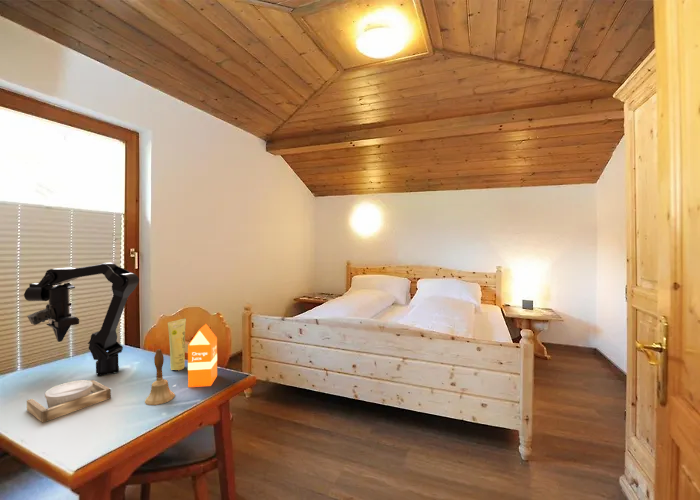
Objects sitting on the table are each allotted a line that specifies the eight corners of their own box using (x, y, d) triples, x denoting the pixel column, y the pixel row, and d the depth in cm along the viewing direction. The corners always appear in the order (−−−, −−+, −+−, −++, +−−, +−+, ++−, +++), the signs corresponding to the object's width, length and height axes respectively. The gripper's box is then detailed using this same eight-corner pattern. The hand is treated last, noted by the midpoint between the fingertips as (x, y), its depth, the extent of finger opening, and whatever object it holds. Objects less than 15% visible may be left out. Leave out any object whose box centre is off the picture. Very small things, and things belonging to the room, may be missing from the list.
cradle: (93, 388, 109) (93, 380, 109) (110, 398, 102) (110, 388, 102) (26, 410, 95) (26, 400, 95) (42, 422, 88) (42, 412, 88)
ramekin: (63, 416, 92) (62, 398, 92) (35, 411, 95) (34, 393, 94) (101, 398, 103) (101, 382, 103) (75, 394, 105) (75, 378, 105)
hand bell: (143, 407, 97) (142, 355, 96) (146, 396, 104) (145, 347, 104) (174, 401, 100) (174, 351, 100) (175, 390, 108) (174, 344, 107)
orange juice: (217, 375, 120) (217, 322, 120) (211, 385, 112) (211, 329, 111) (195, 376, 119) (195, 323, 119) (187, 387, 110) (187, 330, 110)
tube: (182, 371, 124) (181, 321, 124) (167, 372, 123) (167, 322, 122) (186, 365, 130) (186, 318, 129) (172, 366, 128) (172, 318, 128)
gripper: (21, 302, 120) (22, 343, 120) (39, 307, 110) (40, 352, 110) (59, 297, 129) (60, 335, 129) (79, 302, 120) (80, 343, 120)
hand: (59, 341), depth 122 cm, fingers closed
